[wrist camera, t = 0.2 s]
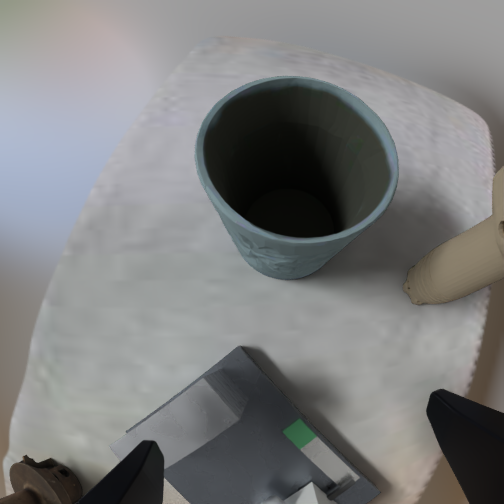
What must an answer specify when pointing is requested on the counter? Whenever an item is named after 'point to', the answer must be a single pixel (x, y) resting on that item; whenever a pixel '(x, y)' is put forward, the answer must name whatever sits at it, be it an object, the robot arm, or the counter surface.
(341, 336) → the counter surface
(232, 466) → the bench
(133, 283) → the counter surface
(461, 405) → the robot arm
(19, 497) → the industrial component
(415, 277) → the handle
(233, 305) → the counter surface
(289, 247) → the teal cup
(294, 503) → the white box with dome
